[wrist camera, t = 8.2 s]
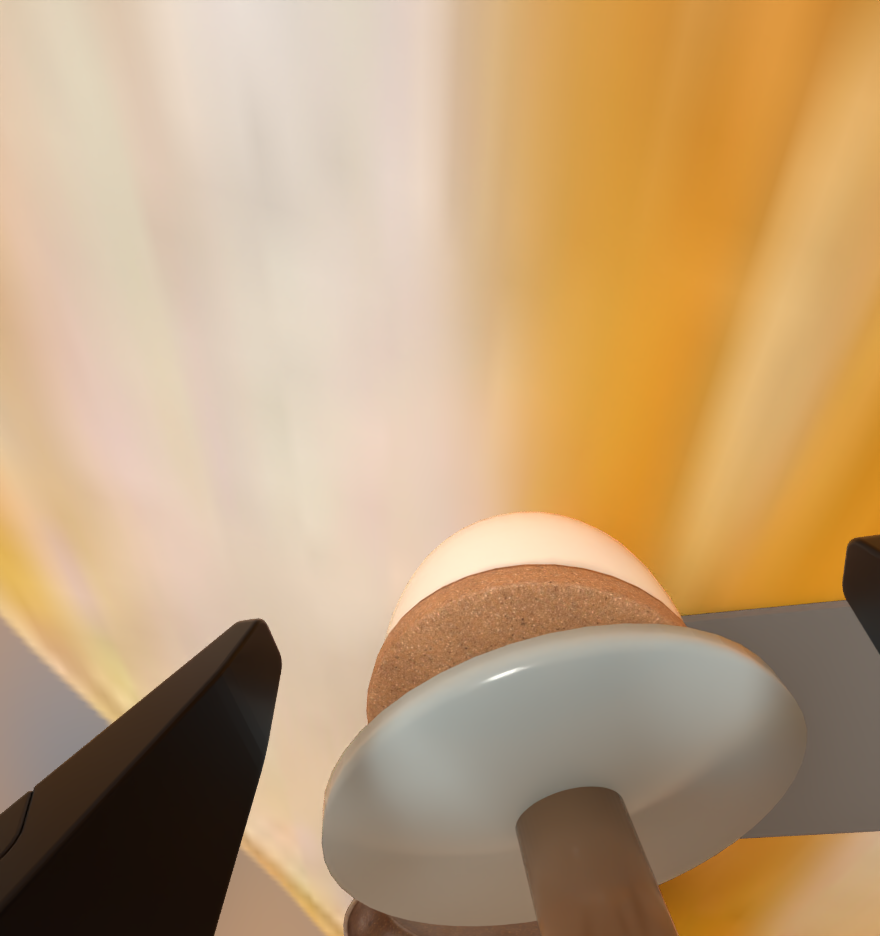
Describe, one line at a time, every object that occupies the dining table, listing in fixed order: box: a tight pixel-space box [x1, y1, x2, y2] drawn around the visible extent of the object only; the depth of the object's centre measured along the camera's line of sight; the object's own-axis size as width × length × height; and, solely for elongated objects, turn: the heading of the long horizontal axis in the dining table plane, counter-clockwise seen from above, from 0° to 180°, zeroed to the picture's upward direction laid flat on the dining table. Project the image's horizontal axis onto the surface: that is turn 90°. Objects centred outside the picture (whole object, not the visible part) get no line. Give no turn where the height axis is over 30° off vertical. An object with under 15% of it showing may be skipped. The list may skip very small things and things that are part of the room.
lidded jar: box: [366, 512, 687, 724], centre depth 20 cm, size 11×11×9 cm
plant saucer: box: [343, 899, 540, 936], centre depth 33 cm, size 18×18×3 cm
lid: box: [322, 623, 807, 936], centre depth 13 cm, size 13×13×5 cm
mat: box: [681, 600, 880, 839], centre depth 28 cm, size 16×16×1 cm
